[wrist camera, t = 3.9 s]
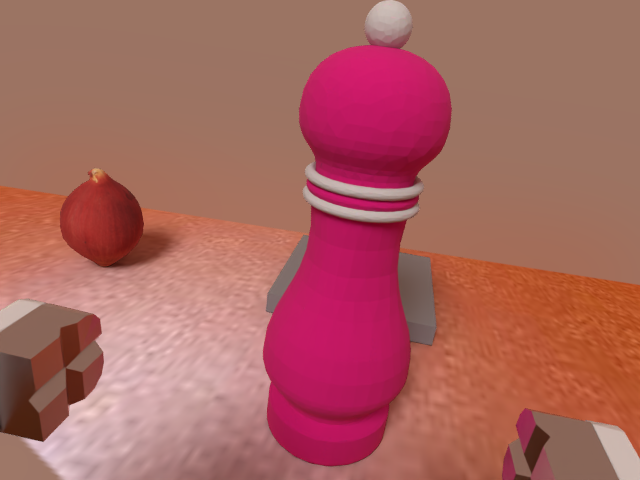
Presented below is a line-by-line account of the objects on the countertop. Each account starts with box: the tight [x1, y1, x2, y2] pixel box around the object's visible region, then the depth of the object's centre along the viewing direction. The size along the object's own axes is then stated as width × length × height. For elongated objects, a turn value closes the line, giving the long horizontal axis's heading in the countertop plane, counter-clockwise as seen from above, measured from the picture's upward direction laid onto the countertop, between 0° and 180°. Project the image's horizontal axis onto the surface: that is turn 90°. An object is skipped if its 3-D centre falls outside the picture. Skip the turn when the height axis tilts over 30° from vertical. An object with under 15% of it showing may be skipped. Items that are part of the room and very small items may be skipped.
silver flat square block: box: [266, 235, 436, 345], centre depth 38 cm, size 12×12×2 cm
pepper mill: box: [263, 0, 452, 466], centre depth 21 cm, size 7×7×20 cm
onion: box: [60, 168, 144, 266], centre depth 36 cm, size 6×6×8 cm
